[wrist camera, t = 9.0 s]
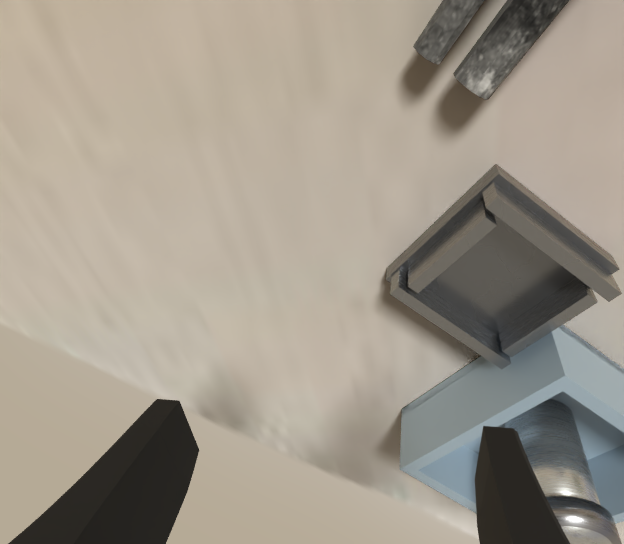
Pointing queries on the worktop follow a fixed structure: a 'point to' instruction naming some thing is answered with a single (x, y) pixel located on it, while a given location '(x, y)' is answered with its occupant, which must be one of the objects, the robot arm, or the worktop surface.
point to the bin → (512, 402)
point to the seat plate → (501, 270)
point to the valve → (487, 39)
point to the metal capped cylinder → (564, 472)
